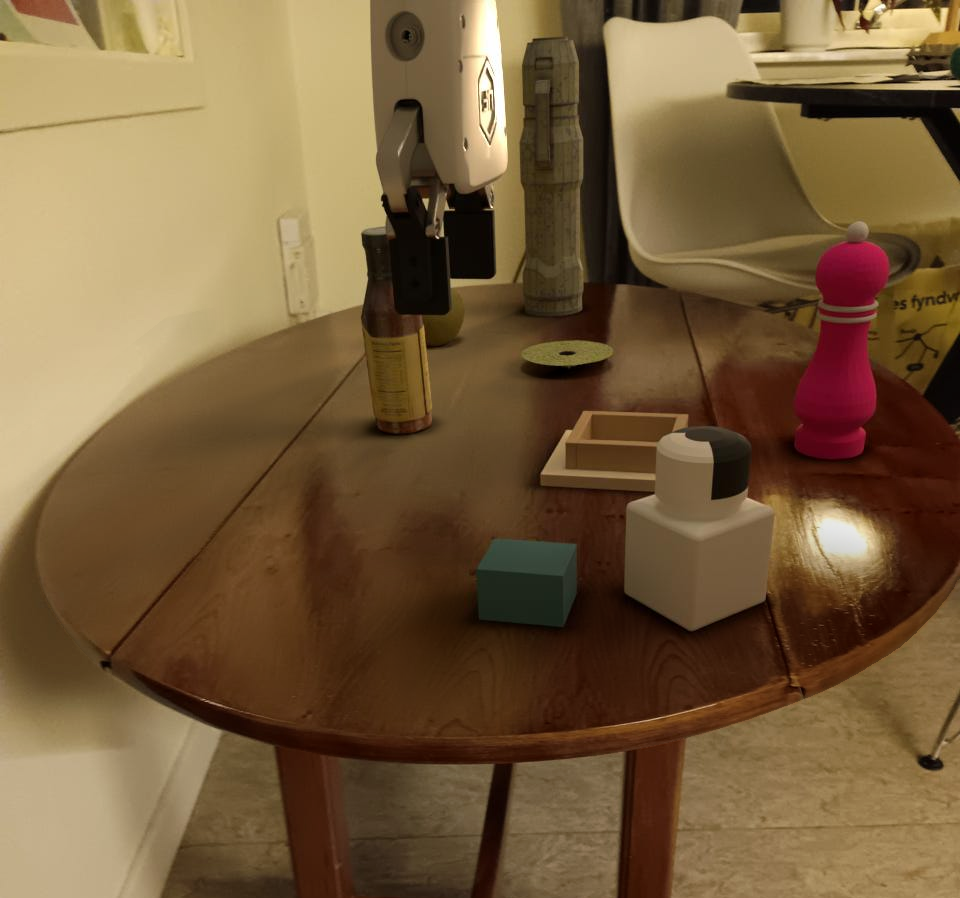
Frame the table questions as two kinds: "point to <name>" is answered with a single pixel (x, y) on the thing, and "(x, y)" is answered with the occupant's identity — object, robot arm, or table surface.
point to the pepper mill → (841, 350)
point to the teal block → (527, 582)
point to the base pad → (610, 451)
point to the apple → (444, 323)
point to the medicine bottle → (699, 531)
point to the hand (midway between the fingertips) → (449, 294)
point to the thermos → (551, 177)
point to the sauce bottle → (393, 347)
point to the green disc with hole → (567, 353)
